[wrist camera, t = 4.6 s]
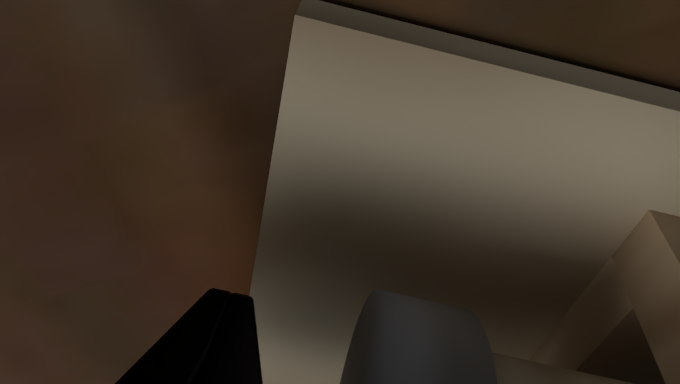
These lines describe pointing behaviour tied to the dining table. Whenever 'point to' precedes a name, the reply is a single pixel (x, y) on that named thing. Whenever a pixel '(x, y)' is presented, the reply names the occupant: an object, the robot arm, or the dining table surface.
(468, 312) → the shaft
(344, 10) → the bench
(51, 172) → the dining table surface
